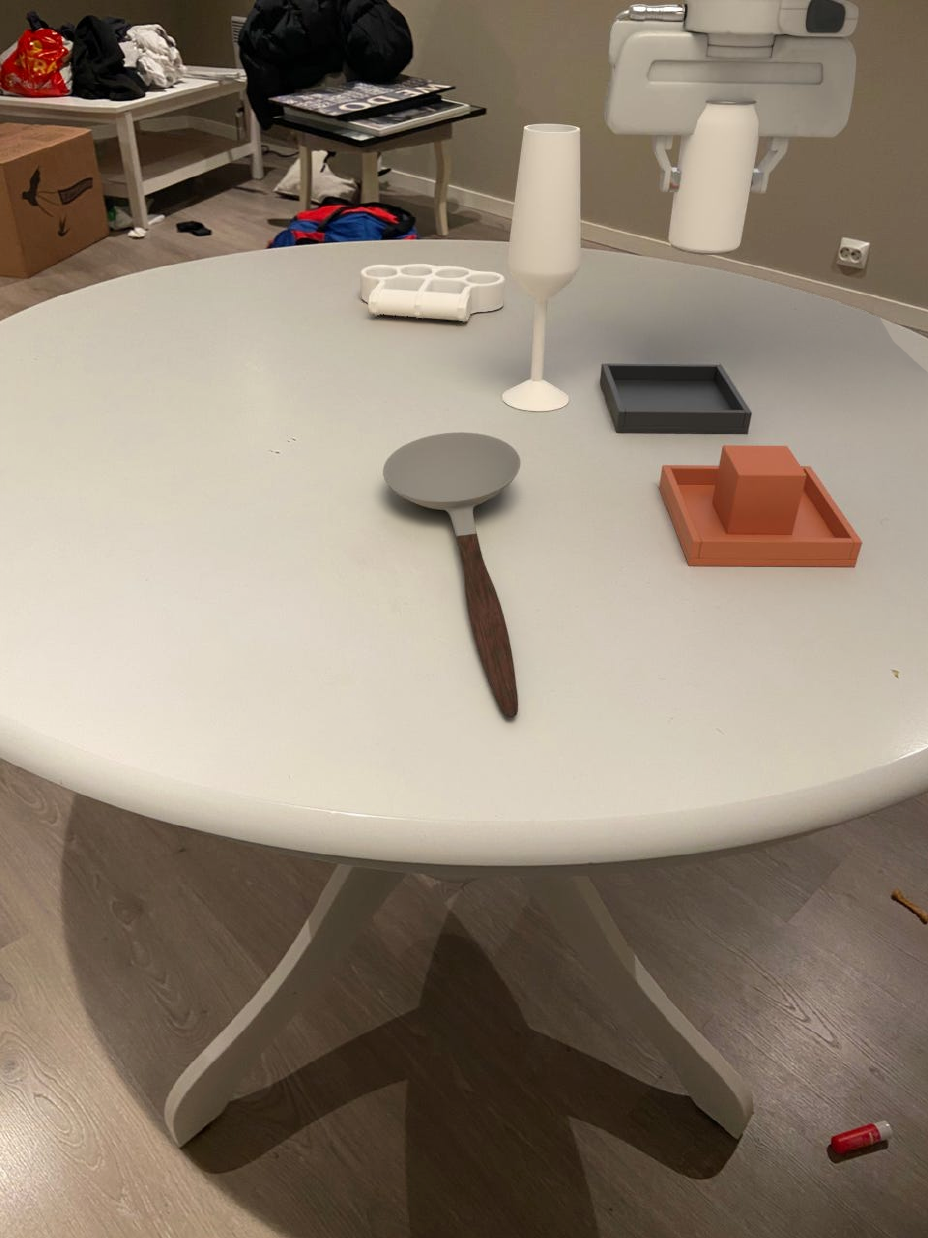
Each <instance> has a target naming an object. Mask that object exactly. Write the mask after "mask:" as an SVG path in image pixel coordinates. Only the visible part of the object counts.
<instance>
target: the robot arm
mask: <svg viewBox="0 0 928 1238" xmlns="http://www.w3.org/2000/svg"><path fill="white" fill-rule="evenodd" d="M859 12H860V11H859V8H858V6H857V5H856V4H854V3H853V2H850V1H848V0H685V3H684V4H661V5H647V4H641V3H638V4H632V5H630V6H629V8H628V9H627V10H623V11H622V12H620V13H619V14H617V15H616V17H614V19H613V21H612V22H611V23H610V26H609V30H608V36H607V37H608V38H607V49H606V55H607V59H608V61H609V64H610V65H611V70H610V74H609V78H608V83H607V88H606V95H605V99H604V108H603V120H604V123H605V124H606V126H607V127H608V129H609V130H610V131H611V132H612V133H613V134H614V135H628V136H629V135H630V136H631V135H633V136H634V135H635V136H636V135H637V136H652V138H651V148H652V150H653V153H654V155H655V158H656V160H657V162H658V165H659V167H660V176H659V191H660V192H661V193H674V192H678V191H679V187H680V184H679V181H680V180H681V173H682V171H680V170H678V169H677V166H676V167H673V166H672V165H671V162H670V160H669V158H668V155H667V152H666V150H672V148H673V143H674V136H682V135H693V134H694V131H695V128H696V125H697V121H698V119H699V117H700V116H701V114H702V113H703V111H704V110H705V108H706V105H707V103H706V100H708V101H718V102H752V101H756V103H755V104H754V109H755V112H756V115H757V118H758V122H759V124H758V136H759V137H765V142H764V146H765V148H767V149H769V150H768V151H767V152H766V153H765V155H764V157H763V159H762V160H761V161H760V163H759V164H758V166H757V167H756V168H755V167H754V169H753V175H752V181H751V187H750V192H749V194H757V195H759V194H760V195H761V194H763V195H764V194H766V192H767V190H768V185H769V184H768V183H769V178H770V173H772V172H773V171H774V170H775V168H776V166H777V165H778V164H779V163H780V161H781V160H782V159H783V157H784V156H785V155H786V153H787V152H788V147H789V142H790V138H835V137H836V136H837V135H839V134H840V133H841V131H842V130H843V129H845V127H846V126H847V124H848V122H849V118H850V114H851V113H850V112H851V108H852V103H853V96H854V90H855V83H856V72H857V56H856V55H857V54H856V50H855V48H854V46H853V43H852V42H851V41H850V40H848V39H847V38H846V37H848V36H850V35H852V34H853V33H854V31H855V29H856V27H857V25H858V20H859V16H860V15H859V14H860V13H859ZM626 17H628V20H622V19H624V18H626Z"/></svg>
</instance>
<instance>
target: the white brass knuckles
mask: <svg viewBox="0 0 928 1238" xmlns="http://www.w3.org/2000/svg"><path fill="white" fill-rule="evenodd" d="M359 274H360V275H359V276H360V295H361V294H362V295H364V296H366V297H368V298H369V302H368V303H367V305H368V306H367V307H368V308H367V309H368V312H369V313H370V314H372V315H374V314H375V315H374V316H377V315H379V314H381V315H383V314H384V315H383V316H385V315H386V316H395V315H396V317H407V316H408V317H409V318H410V317H411V318H416V319H418V318H422V319H433V320H434V319H435V320H448V321H459V322H460V321H463V322H462V323H465V322H468V321H469V320H470V318H469V317H471V315H470V314H471V311H473V310H476V309H486V308H492V307H495V306H498V305H500V304H501V303H503V301H504V302H505V286H506V285H505V284H506V283H505V282H506V279H505V276H503V275H502V274H501V273H498V272H495V271H481V270H473V269H470V268H467V267H463V266H456V265H433V264H427V263H410V264H403V265H401V264H400V265H390V264H373V265H369V266H366V267H364V268H362V269H361V271H360V273H359ZM408 317H407V318H408ZM468 319H469V320H468Z"/></svg>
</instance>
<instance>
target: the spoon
mask: <svg viewBox="0 0 928 1238" xmlns="http://www.w3.org/2000/svg"><path fill="white" fill-rule="evenodd" d="M520 468H521V456H520V454H519V453H518V451H517V450H516V449H515V448H514V447H513V446H512V445H511V444H509V443H508V442H507V441H504V440H502V439H501V438H497V437H495V436H492V435H487V434H482V433H475V432H462V431H461V432H444V433H438V434H431V435H428V436H424V437H421V438H418V439H416V440H412V441H410V442H408V443H406V444H404V445H401V447H399V448H397V449H396V450H395V451H393V452H392V454H390V456H389V457H388V458H387V459H386V460H385V462H384V465H383V469H382V476H383V478H384V481H385V483H386V484H387V486H389V487H390V489H391V490H393V491H394V492H396V494H398V496H399V495H400V497H402V498H404V499H406V500H407V501H409V502H411V503H414V504H416V505H419V506H422V507H425V508H428V509H433V510H439V511H446V512H447V514H448V516H449V517H450V519H451V523H452V527H453V530H454V533H455V538H456V542H457V546H458V549H459V553H460V558H461V564H462V569H463V580H464V581H463V583H464V591H465V599H466V605H467V610H468V616H469V620H470V624H471V628H472V633H473V636H474V639H475V644H476V646H477V651H478V653H479V657H480V659H481V662H482V665H483V668H484V670H485V673H486V676H487V679H488V681H489V684H490V686H491V688H492V692H493V694H494V696H495V699H496V701H497V703H498V705H499V708H500V710H501V711H502V713H503V714H504V715H505V716H506V717H507V718H514V717H516V716H517V715H518V712H519V697H518V687H517V679H516V672H515V671H516V670H515V664H514V657H513V651H512V645H511V640H510V636H509V631H508V628H507V623H506V620H505V619H506V618H505V616H504V612H503V608H502V605H501V602H500V598H499V596H498V593H497V590H496V587H495V585H494V583H493V581H492V578H491V576H490V573H489V571H488V568H487V565H486V563H485V560H484V557H483V554H482V550H481V545H480V541H479V537H478V532H477V528H476V524H475V518H474V508H475V507H476V506H478V505H480V504H484V503H485V502H487V501H489V500H490V499H492V498H494V497H495V496H497V495H498V494H500V493H501V492H502V491H504V490H505V489H506V488H508V486H509V485H510V484H511V483H512V482H513V481H514V479H515V478H516V477H517V475H518V474H519V471H520V470H521V469H520Z"/></svg>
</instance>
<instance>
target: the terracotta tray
mask: <svg viewBox="0 0 928 1238" xmlns="http://www.w3.org/2000/svg"><path fill="white" fill-rule="evenodd" d="M800 466H801V467H802V469H803V470H804V472H805V473H806V475H807V476H806V480H805V484H804V488H803V492H802V496H801V500H800V504H799V509H798V513H797V517H796V521H795V525H794V529H793V533H792V534H727V533H726V531H725V529H724V527H723V524H722V522H721V520H720V518H719V516H718V514H717V512H716V509H715V507H714V505H713V503H712V501H713V496H714V490H715V485H716V480H717V474H718V469H719V464H718V465H717V464H716V465H715V464H714V465H709V464H707V465H705V464H704V465H703V464H701V465H699V464H681V465H680V464H670V465H669V464H662V465H661V472H660V478H659V481H660V482H659V486H658V488H659V491H660V493H661V496H662V500H663V501H664V504H665V506H666V509H667V511H668V515H669V517H670V520H671V523H672V525H673V528H674V531H675V533H676V536H677V538H678V540H679V543H680V546H681V548H682V549H681V550H682V551H683V554H684V556H685V560H686V561H687V565H688V566H689V567H690V566H691V567H692V566H693V567H698V566H699V567H833V568H835V567H839V568H840V567H841V568H842V567H843V568H845V567H846V568H850V567H852V568H853V567H856V565H857V561H858V558H859V555H860V552H861V548H862V545H863V541H862V539H861V538H860V536H859V535H858V534H857V532H856V531H855V529H854V528H853V526H852V525H851V523H850V522H849V520H848V519H847V518H846V516H845V515H844V513H843V512H842V511H841V509H840V508H839V506H838V505H837V503H836V501H835V500H834V499H833V497H832V495H831V494H830V492H828V490H827V488H826V487H825V485H824V484H823V483H822V481H821V480H820V478H819V477H818V475H817V474H816V472H815V471H814V469H813V468H812V467H811V466H810V465H800Z"/></svg>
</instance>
